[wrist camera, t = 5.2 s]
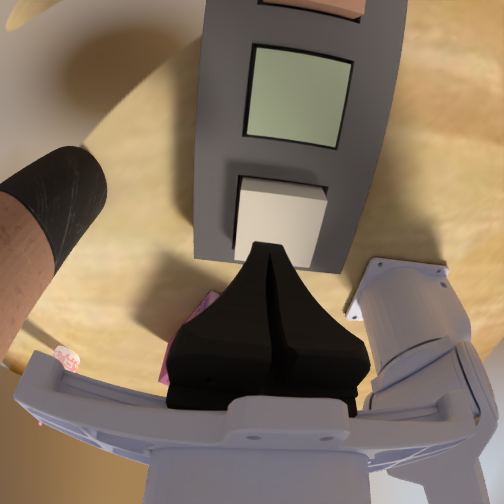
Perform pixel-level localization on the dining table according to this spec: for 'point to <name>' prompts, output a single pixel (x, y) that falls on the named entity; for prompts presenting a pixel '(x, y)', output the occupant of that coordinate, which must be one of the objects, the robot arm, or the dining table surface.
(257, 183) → the cream button
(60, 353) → the beverage cup
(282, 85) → the sage button
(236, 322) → the robot arm
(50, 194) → the travel mug
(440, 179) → the dining table surface
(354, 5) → the terracotta button
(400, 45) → the console
